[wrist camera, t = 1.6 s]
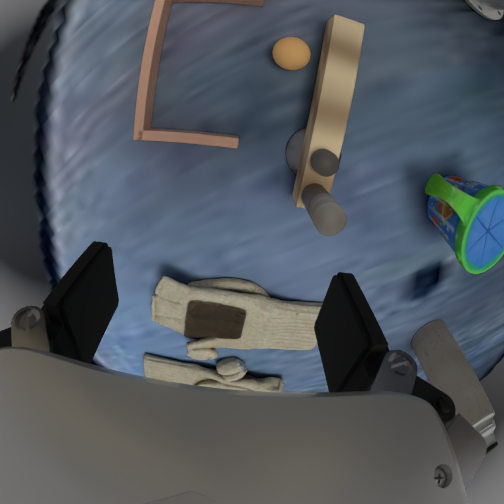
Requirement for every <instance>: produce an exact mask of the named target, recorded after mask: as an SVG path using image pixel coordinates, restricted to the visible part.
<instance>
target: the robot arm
mask: <svg viewBox="0 0 504 504" xmlns="http://www.w3.org/2000/svg"><path fill="white" fill-rule="evenodd" d="M465 1H466V3H467V4H468V5H469V6H470V7H471V8H472V9H474V10H475V11H476V12H477V13H478V14H480V15H481V16H483V17H485V18H487V19H489V20H498V19H501V18H502V16H503V11H504V0H465ZM118 302H119V298H118V292H117V286H116V279H115V273H114V265H113V257H112V249H111V247H108V244H107V243H103V242H96V241H94V242H93V243H92V244H91V245H90V246H89V247H88V248H87V249H86V250H85V251H84V253H83V254H82V255H81V256H80V257H79V258H78V260H77V261H76V262H75V263H74V264H73V265H72V267H71V268H70V269H69V270H68V271H67V273H66V274H65V275H64V276H63V278H62V279H61V280H60V281H59V283H58V284H57V285H56V286H55V288H54V289H53V290H52V292H51V293H50V294H49V295H48V297H47V298H46V299H45V301H44V302H43V303H44V306H43V307H42V308H39V307H37V306H32V305H31V306H26V307H23V308H21V309H20V310H18V311H17V312H16V313H15V314H14V316H13V318H12V321H11V327H10V328H8V329H5V330H2V331H0V504H468V501H467V496H466V492H465V490H466V488H467V486H468V485H469V483H470V481H471V480H472V477H473V476H474V474H475V473H476V471H477V469H478V467H479V465H480V463H481V461H482V460H483V458H484V456H485V454H486V450H487V444H486V441H485V439H484V437H483V436H482V435H481V434H480V433H479V432H478V431H477V430H476V429H475V428H474V427H473V426H472V425H471V424H470V423H469V422H468V421H467V420H466V419H465V418H464V417H463V416H462V415H461V414H460V413H458V414H457V415H456V414H455V411H456V409H455V404H454V402H453V400H452V399H451V398H450V396H448V395H447V394H446V393H444V392H442V391H441V390H439V389H437V388H436V387H434V386H433V385H431V384H429V383H428V382H426V381H424V380H423V379H421V378H420V377H418V376H416V375H417V365H416V362H415V361H414V359H413V358H412V357H411V356H410V355H409V354H407V353H406V352H403V351H401V350H391V351H389V348H388V343H387V341H386V339H385V337H384V335H383V332H382V330H381V328H380V326H379V324H378V322H377V320H376V318H375V316H374V314H373V312H372V310H371V308H370V306H369V304H368V302H367V300H366V298H365V296H364V294H363V292H362V290H361V289H360V287H359V285H358V283H357V281H356V279H355V277H354V275H353V274H351V273H342V272H339V273H338V274H337V275H334V276H333V278H332V280H331V283H330V286H329V288H328V291H327V294H326V296H325V299H324V301H323V304H322V306H321V309H320V311H319V314H318V316H317V319H316V321H315V325H314V331H315V335H316V339H317V343H318V347H319V351H320V355H321V359H322V364H323V368H324V372H325V376H326V380H327V385H328V389H329V392H319V393H287V392H260V391H245V390H232V389H221V388H212V387H204V386H196V385H189V384H182V383H176V382H169V381H164V380H158V379H153V378H148V377H142V376H138V375H133V374H128V373H124V372H120V371H116V370H111V369H108V368H104V367H100V366H96V365H92V364H90V363H91V361H92V359H93V357H94V354H95V352H96V350H97V348H98V346H99V343H100V341H101V339H102V337H103V335H104V333H105V331H106V329H107V327H108V325H109V322H110V320H111V318H112V316H113V314H114V312H115V310H116V308H117V306H118Z"/></svg>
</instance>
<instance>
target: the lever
mask: <svg viewBox="0 0 504 504" xmlns="http://www.w3.org/2000/svg"><path fill="white" fill-rule="evenodd" d="M363 32H364V24H362V23H359V22H356V21H353V20H351V19H348V18H345V17H342V16H338V15H334V16H333V17H331V18H330V19H329V20H328V21H327V22H326V28H325V33H324V39H323V45H322V51H321V56H320V62H319V67H318V73H317V78H316V83H315V89H314V94H313V99H312V104H311V109H310V114H309V119H308V124H307V129H306V134H305V139H304V143H303V148H302V153H301V158H300V162H299V167H298V171H297V176H296V181H295V185H294V190H293V194H292V198H293V200H294V203H295V205H296V207H301V208H306V209H307V211H308V213H309V215H310V217H311V219H312V221H313V223H314V225H315V227H316V229H317V230H318V231H319V232H320V233H321V234H323V235H326V236H332V235H336V234H338V233H339V232H340V231H342V229H343V228H344V226H345V224H346V214H345V212H344V210H343V209H342V208H341V207H340V206H339V204H338V203H337V202H336V201H335V200H334V198H333V197H332V196H331V195H330V191H331V187H332V184H333V180H334V176H335V173H336V172H337V170H338V168H339V156H340V151H341V147H342V143H343V139H344V134H345V130H346V125H347V121H348V116H349V111H350V106H351V101H352V96H353V91H354V86H355V81H356V75H357V70H358V64H359V58H360V52H361V46H362V39H363Z"/></svg>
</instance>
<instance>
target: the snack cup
mask: <svg viewBox="0 0 504 504" xmlns="http://www.w3.org/2000/svg"><path fill="white" fill-rule="evenodd" d="M425 193H426V194H428V195H429V199H428V204H427V209H428V212H427V214H428V217H429V218H430V220H431V221H432V223H433V225H434V226H435V227H436V229H437V230H438V231H439V232H440V234H441V235H442V236H443V238H444V239H445V240H446V242H447V243H448V244H449V245H450V247H451V248H452V250H453V251H454V252H455V255H456V258H457V259H458V261H459V263H460V264H461V266H462V267H463V268H464V269H465V270H467V271H468V272H470V273H474V274H478V273H482V272H484V271H486V270H488V269H489V268H491V267H492V266H493V265H495V264H496V262H497V261H498V260H499V259H500V258H501V257H502V255H503V254H504V189H503V188H502V187H501V186H499V185H491V186H488V185H485V184H482V183H479V182H475V181H472V180H468V179H465V178H461V177H458V176H452V175H448V176H446V177H444V178H443V177H442V176H441V175H439V174H437V173H436V174H433V175H432V176H431V177H430V178H429V180H428V182H427V184H426V187H425Z"/></svg>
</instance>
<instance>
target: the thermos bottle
mask: <svg viewBox="0 0 504 504" xmlns="http://www.w3.org/2000/svg"><path fill="white" fill-rule="evenodd" d="M411 345H412V348H413V350H414V352H415V354H416V356H417V358H418V360H419V362H420V364H421V366H422V368H423V370H424V372H425V374H426V376H427V378H428V380H429V382H430V384H431V385H433V386H434V387H436V388H437V389H439V390H441V391H442V392H444V393H446V394H447V395H448V396H450V398H451V399H452V400H453V402H454V404H455V409H456V411H455V414H456V415H457V414H458V413H460V414H461V415H462V416H463V417H464V418H465V419H466V420H467V421H468V422H469V423H470V424H471V425H472V426H473V427H474V428H475V429H476V430H477V431H478V432H479V433H480V434H481V435H482V436H483V437H484V439H485V441H486V444H487V450H486V454H487V453H489V452H490V451H491V450H492V449H494V448H495V447H496V446H497V445H498V443H497V442H495V437H494V435H493V431H494V429H495V427H496V426H495V423H494V421H493V418H492V417H493V416H494V410H493V408H492V406H491V404H490V402H489V400H488V398H487V396H486V394H485V392H484V390H483V388H482V386H481V384H480V382H479V380H478V378H477V377H476V375H475V373H474V371H473V369H472V367H471V366H470V364H469V362H468V361H467V359H466V358H465V356H464V354H463V353H462V351H461V349H460V347H459V346H458V344H457V342H456V340H455V339H454V337H453V336H452V334H451V333H450V331H449V329H448V328H447V326H446V325H445V323H444V322H443V321H441V320H435V321H432V322H430V323H428V324H426V325H425V326H423V327H422V328H421V329H420V330H419V331H418V332H417V333H416V334H415V336H414V337H413V339H412V342H411ZM486 454H485V455H486Z"/></svg>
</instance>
